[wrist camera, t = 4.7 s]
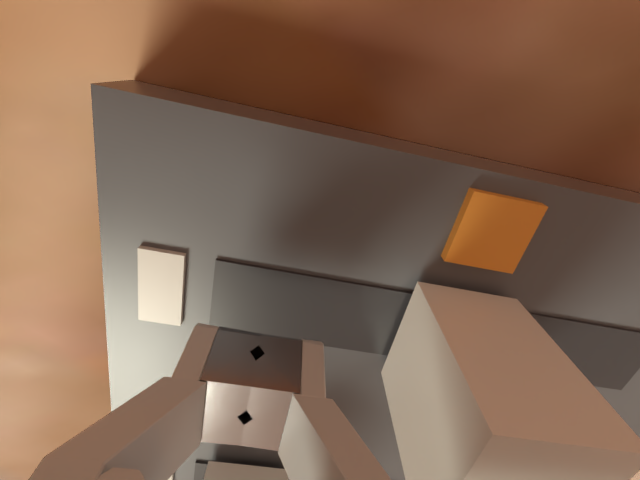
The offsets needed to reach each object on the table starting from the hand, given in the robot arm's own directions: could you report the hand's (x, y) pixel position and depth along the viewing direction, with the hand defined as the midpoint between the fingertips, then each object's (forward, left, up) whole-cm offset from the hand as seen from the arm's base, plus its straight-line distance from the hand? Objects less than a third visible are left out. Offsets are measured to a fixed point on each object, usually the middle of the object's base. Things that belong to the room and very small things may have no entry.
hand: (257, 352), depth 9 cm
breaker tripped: (-5, 0, -2) cm, 6 cm away
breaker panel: (-5, +4, -4) cm, 8 cm away
